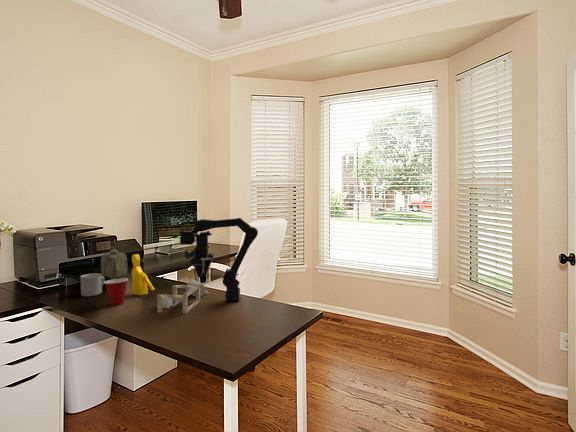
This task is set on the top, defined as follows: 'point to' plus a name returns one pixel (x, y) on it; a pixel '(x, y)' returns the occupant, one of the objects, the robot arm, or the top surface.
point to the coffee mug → (91, 284)
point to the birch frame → (175, 296)
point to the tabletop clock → (114, 264)
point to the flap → (182, 298)
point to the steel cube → (166, 302)
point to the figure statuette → (139, 278)
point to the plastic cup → (116, 290)
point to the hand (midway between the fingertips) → (202, 275)
